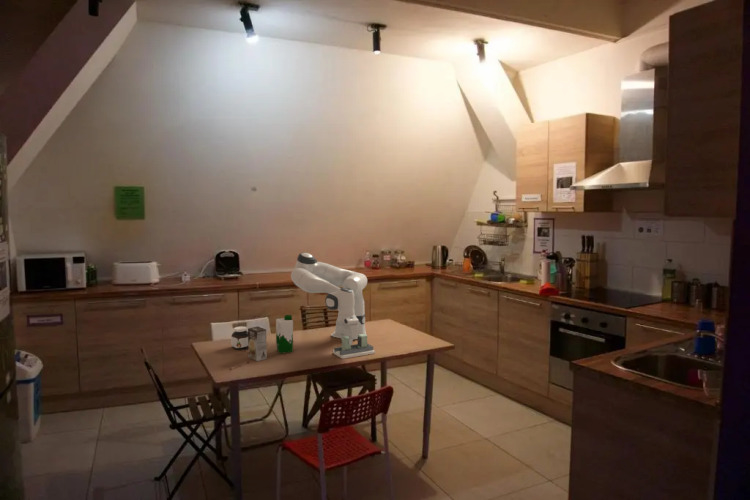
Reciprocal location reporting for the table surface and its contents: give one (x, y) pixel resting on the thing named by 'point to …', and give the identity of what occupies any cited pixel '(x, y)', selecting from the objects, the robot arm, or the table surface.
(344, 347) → the block
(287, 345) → the milk carton
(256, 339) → the coffee box
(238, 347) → the spread jar
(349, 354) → the board
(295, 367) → the table surface
